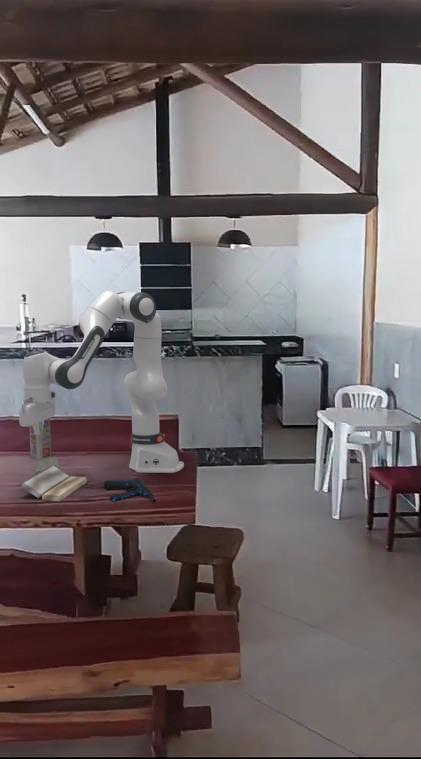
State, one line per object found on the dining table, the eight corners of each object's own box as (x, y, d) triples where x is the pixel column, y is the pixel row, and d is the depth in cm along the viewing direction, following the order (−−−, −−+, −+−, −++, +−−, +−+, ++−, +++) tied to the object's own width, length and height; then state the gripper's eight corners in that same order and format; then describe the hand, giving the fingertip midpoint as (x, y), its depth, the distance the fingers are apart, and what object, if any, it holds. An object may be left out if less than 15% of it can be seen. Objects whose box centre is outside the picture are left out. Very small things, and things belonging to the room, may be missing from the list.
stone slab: (35, 478, 255) (60, 473, 257) (33, 471, 254) (59, 466, 257) (35, 464, 276) (59, 459, 278) (34, 457, 276) (58, 453, 278)
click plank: (66, 480, 245) (69, 475, 245) (38, 498, 224) (41, 493, 223) (49, 468, 246) (51, 464, 246) (20, 486, 225) (22, 481, 224)
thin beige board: (86, 482, 243) (86, 477, 243) (59, 501, 222) (59, 495, 222) (69, 481, 245) (69, 476, 245) (42, 499, 224) (41, 494, 223)
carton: (45, 453, 286) (43, 404, 283) (51, 456, 281) (49, 406, 278) (30, 456, 282) (28, 406, 279) (37, 459, 277) (35, 408, 273)
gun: (116, 510, 217) (158, 504, 223) (116, 502, 216) (158, 496, 222) (98, 487, 238) (138, 482, 244) (98, 480, 238) (137, 475, 244)
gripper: (30, 401, 220) (32, 440, 222) (57, 392, 240) (59, 428, 242) (13, 400, 221) (15, 439, 223) (42, 391, 241) (43, 427, 243)
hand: (38, 433), depth 233 cm, fingers closed
